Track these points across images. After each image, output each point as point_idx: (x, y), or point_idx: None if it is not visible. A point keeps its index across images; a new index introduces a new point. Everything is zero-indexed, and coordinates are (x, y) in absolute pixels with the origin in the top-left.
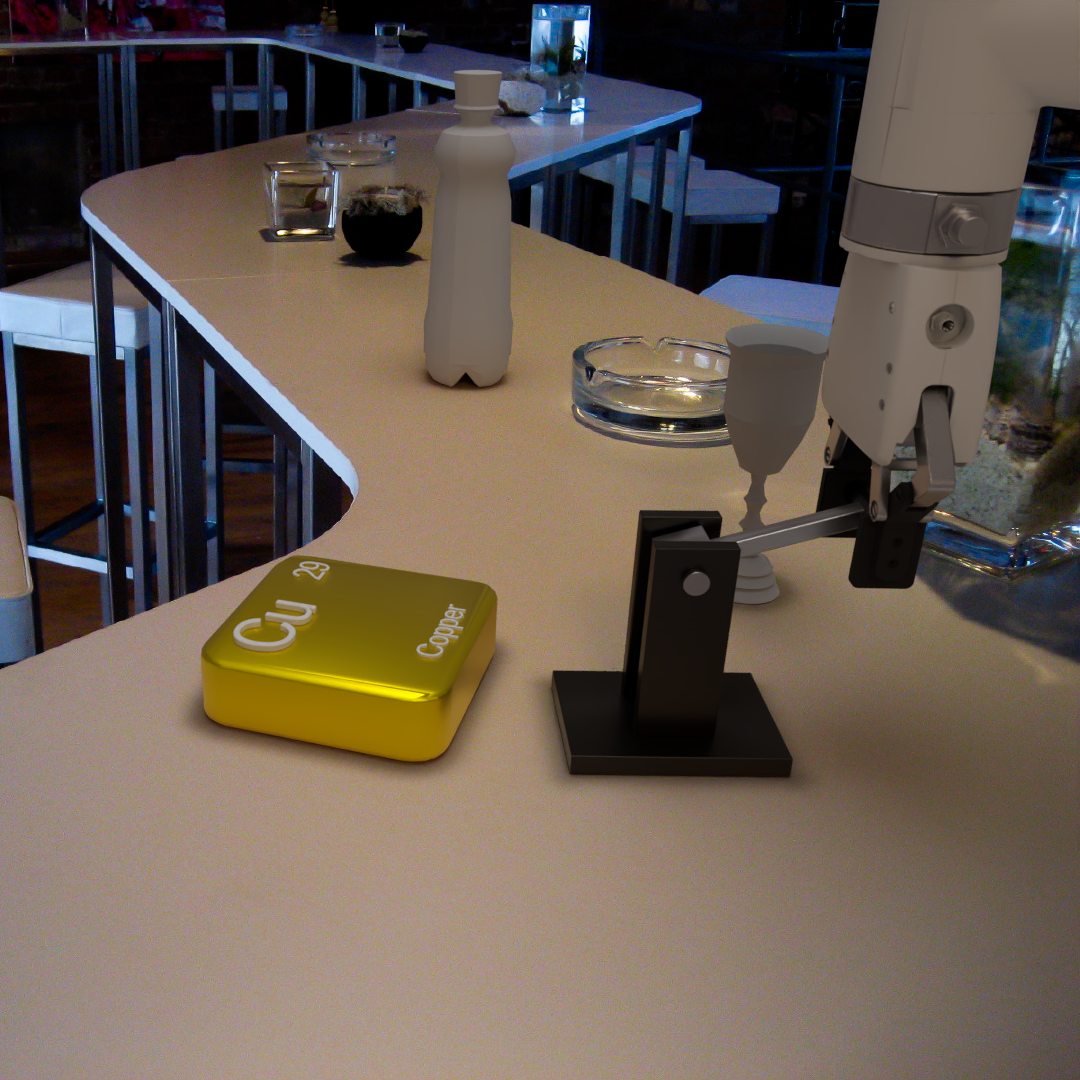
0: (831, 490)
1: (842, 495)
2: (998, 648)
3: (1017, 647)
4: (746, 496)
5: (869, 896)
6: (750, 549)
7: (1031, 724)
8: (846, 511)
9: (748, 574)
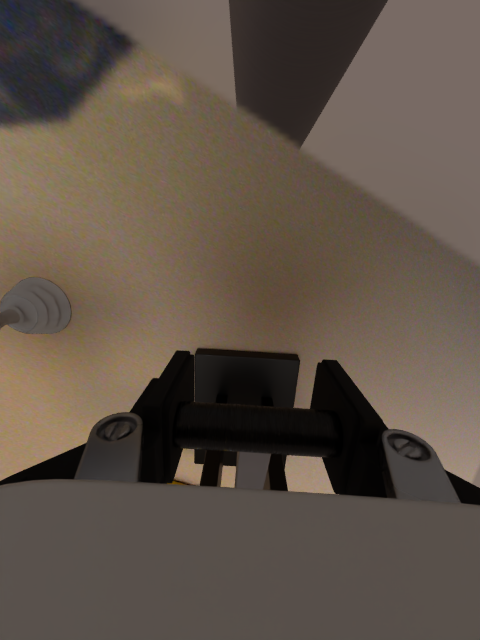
0: (178, 457)
1: None
2: (122, 112)
3: (118, 89)
4: None
5: (405, 349)
6: None
7: (246, 150)
8: (260, 465)
9: (45, 317)
